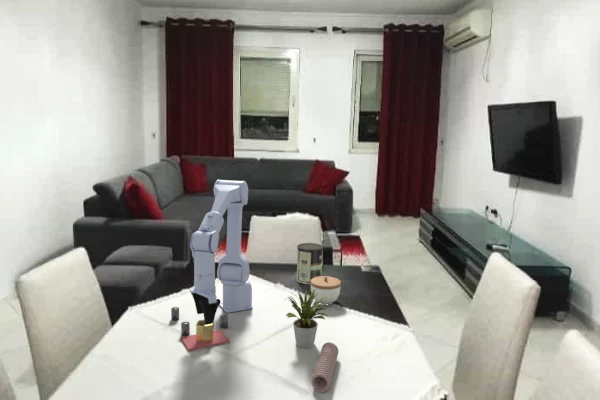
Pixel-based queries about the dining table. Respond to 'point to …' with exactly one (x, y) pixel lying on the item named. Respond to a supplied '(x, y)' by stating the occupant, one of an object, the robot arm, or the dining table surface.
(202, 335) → the brass nut
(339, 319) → the dining table surface
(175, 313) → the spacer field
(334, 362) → the coil
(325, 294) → the lidded jar
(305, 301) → the house plant
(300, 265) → the coffee can
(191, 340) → the red mat
